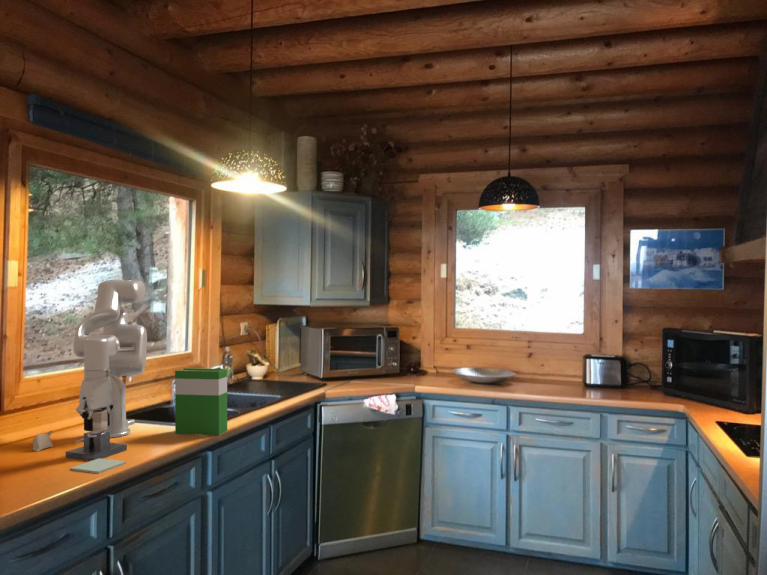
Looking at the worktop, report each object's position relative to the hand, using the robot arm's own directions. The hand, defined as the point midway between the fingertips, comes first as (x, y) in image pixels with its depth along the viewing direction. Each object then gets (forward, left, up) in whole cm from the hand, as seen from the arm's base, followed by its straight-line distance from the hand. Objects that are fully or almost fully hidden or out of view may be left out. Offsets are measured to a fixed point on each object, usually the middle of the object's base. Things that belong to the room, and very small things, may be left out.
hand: (96, 427), depth 199 cm
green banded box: (-37, +14, -9) cm, 40 cm away
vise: (0, 0, -9) cm, 9 cm away
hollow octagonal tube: (0, 0, 0) cm, 0 cm away
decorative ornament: (+1, -23, -9) cm, 25 cm away
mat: (+11, +12, -9) cm, 19 cm away
